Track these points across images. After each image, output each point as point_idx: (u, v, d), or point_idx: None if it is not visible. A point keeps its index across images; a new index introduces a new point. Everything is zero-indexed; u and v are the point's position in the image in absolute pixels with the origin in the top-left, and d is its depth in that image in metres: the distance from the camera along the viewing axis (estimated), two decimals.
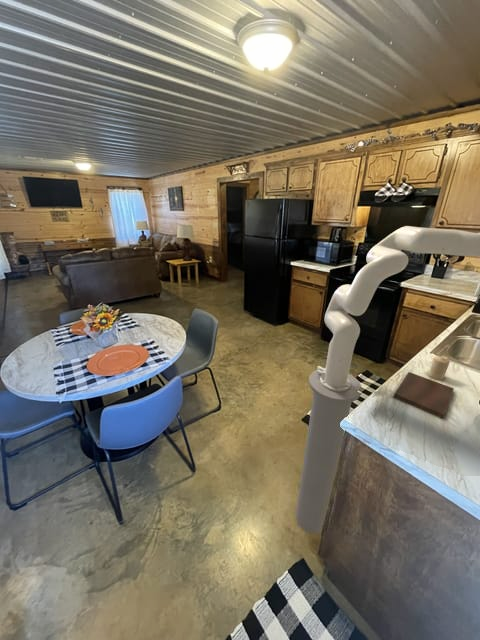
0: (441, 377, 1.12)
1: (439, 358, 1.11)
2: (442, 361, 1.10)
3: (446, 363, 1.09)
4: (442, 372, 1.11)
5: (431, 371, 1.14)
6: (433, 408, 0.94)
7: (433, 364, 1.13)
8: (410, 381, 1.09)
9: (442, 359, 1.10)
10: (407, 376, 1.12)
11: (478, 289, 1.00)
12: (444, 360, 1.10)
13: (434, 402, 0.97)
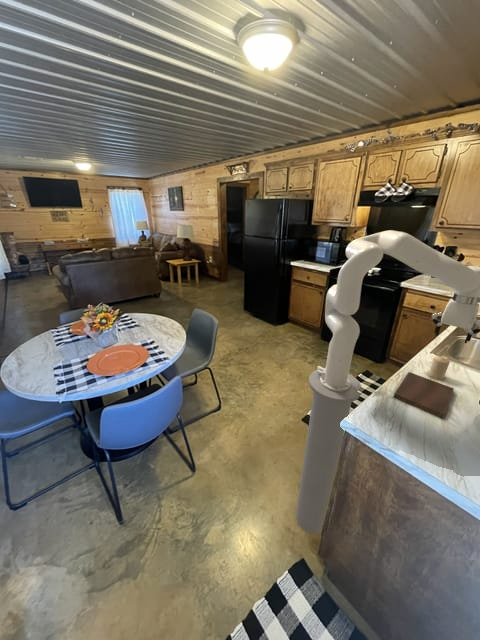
0: (441, 377, 1.12)
1: (439, 358, 1.11)
2: (442, 361, 1.10)
3: (446, 363, 1.09)
4: (442, 372, 1.11)
5: (431, 371, 1.14)
6: (433, 408, 0.94)
7: (433, 364, 1.13)
8: (410, 381, 1.09)
9: (442, 359, 1.10)
10: (407, 376, 1.12)
11: None
12: (444, 360, 1.10)
13: (434, 402, 0.97)
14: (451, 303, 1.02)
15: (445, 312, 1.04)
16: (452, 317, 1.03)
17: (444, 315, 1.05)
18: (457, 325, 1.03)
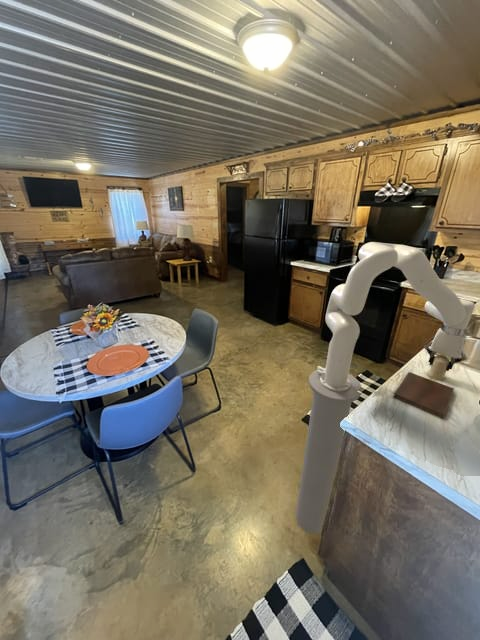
0: (441, 377, 1.12)
1: (439, 358, 1.11)
2: (442, 361, 1.10)
3: (446, 363, 1.09)
4: (442, 372, 1.11)
5: (431, 371, 1.14)
6: (433, 408, 0.94)
7: (433, 364, 1.13)
8: (410, 381, 1.09)
9: (442, 359, 1.10)
10: (407, 376, 1.12)
11: None
12: (444, 360, 1.10)
13: (434, 402, 0.97)
14: (440, 333, 1.07)
15: (434, 341, 1.10)
16: (441, 346, 1.08)
17: (433, 343, 1.10)
18: (445, 354, 1.08)
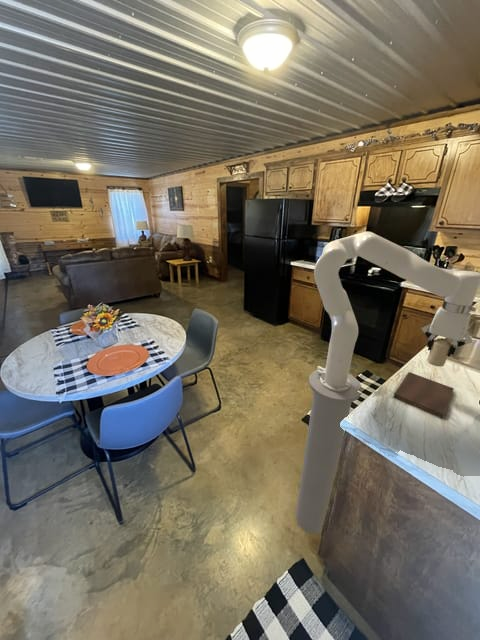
0: (441, 364, 0.97)
1: (439, 341, 0.95)
2: (442, 345, 0.94)
3: (447, 347, 0.94)
4: (442, 358, 0.96)
5: (430, 357, 0.99)
6: (433, 408, 0.94)
7: (432, 349, 0.98)
8: (410, 381, 1.09)
9: (443, 342, 0.95)
10: (407, 376, 1.12)
11: None
12: (445, 344, 0.94)
13: (434, 402, 0.97)
14: (440, 311, 0.92)
15: (434, 321, 0.94)
16: (442, 327, 0.93)
17: (433, 324, 0.95)
18: (447, 336, 0.93)
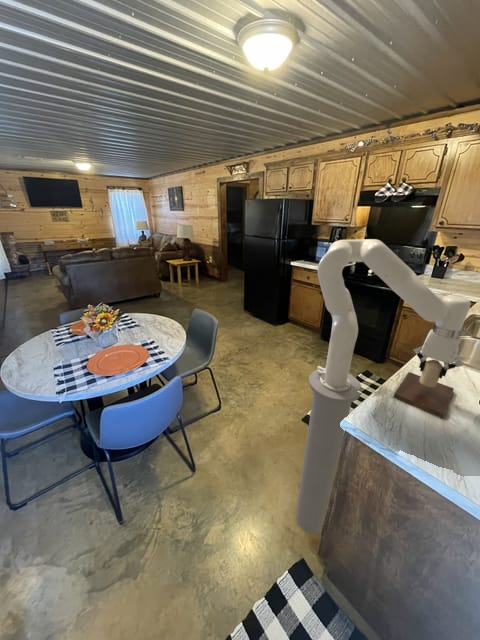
0: (433, 385, 0.99)
1: (431, 363, 0.97)
2: (434, 367, 0.96)
3: (439, 369, 0.96)
4: (434, 380, 0.98)
5: (422, 378, 1.01)
6: (433, 408, 0.94)
7: (424, 370, 0.99)
8: (410, 381, 1.09)
9: (434, 364, 0.96)
10: (407, 376, 1.12)
11: None
12: (436, 366, 0.96)
13: (434, 402, 0.97)
14: (431, 335, 0.94)
15: (425, 344, 0.96)
16: (433, 350, 0.95)
17: (424, 347, 0.97)
18: (438, 358, 0.95)
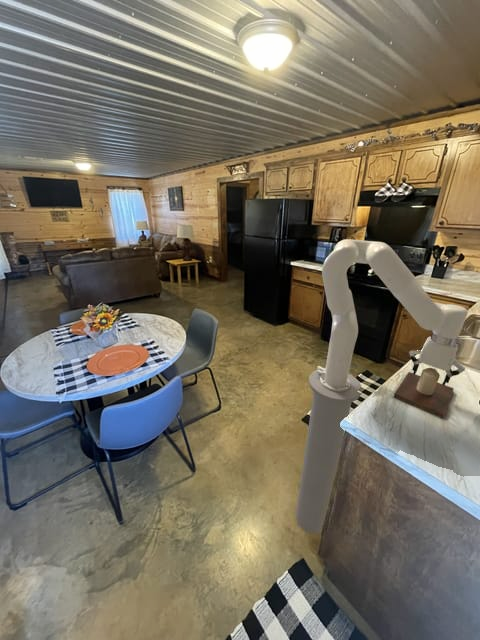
0: (430, 392, 1.00)
1: (428, 371, 0.99)
2: (431, 375, 0.98)
3: (435, 377, 0.97)
4: (431, 387, 0.99)
5: (419, 385, 1.02)
6: (433, 408, 0.94)
7: (421, 378, 1.01)
8: (410, 381, 1.09)
9: (431, 373, 0.98)
10: (407, 376, 1.12)
11: None
12: (433, 374, 0.98)
13: (434, 402, 0.97)
14: (429, 342, 0.95)
15: (423, 351, 0.98)
16: (430, 357, 0.96)
17: (422, 354, 0.98)
18: (435, 366, 0.96)
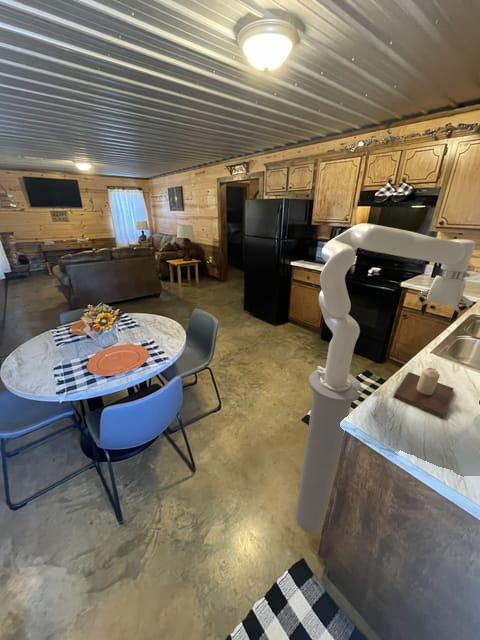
0: (430, 392, 1.00)
1: (428, 371, 0.99)
2: (430, 375, 0.98)
3: (435, 377, 0.97)
4: (431, 387, 0.99)
5: (419, 385, 1.02)
6: (433, 408, 0.94)
7: (421, 378, 1.01)
8: (410, 381, 1.09)
9: (431, 373, 0.98)
10: (407, 376, 1.12)
11: None
12: (433, 374, 0.98)
13: (434, 402, 0.97)
14: (437, 279, 0.98)
15: (431, 289, 1.01)
16: (438, 294, 0.99)
17: (430, 292, 1.01)
18: (443, 302, 0.99)
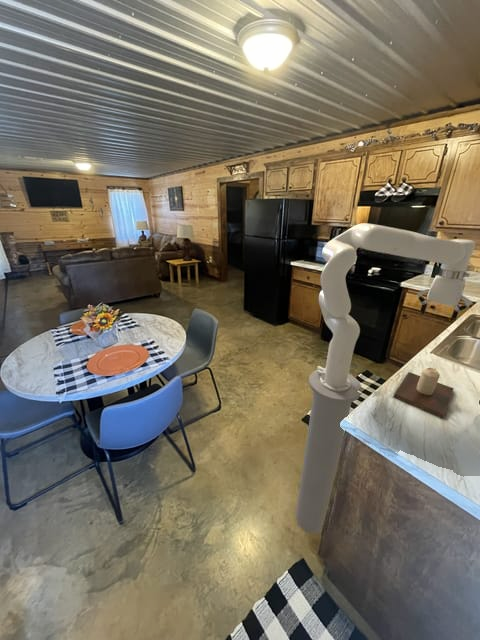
0: (430, 392, 1.00)
1: (428, 371, 0.99)
2: (430, 375, 0.98)
3: (435, 377, 0.97)
4: (431, 387, 0.99)
5: (419, 385, 1.02)
6: (433, 408, 0.94)
7: (421, 378, 1.01)
8: (410, 381, 1.09)
9: (431, 373, 0.98)
10: (407, 376, 1.12)
11: None
12: (433, 374, 0.98)
13: (434, 402, 0.97)
14: (437, 279, 0.99)
15: (431, 289, 1.01)
16: (438, 294, 1.00)
17: (430, 292, 1.02)
18: (443, 302, 1.00)
